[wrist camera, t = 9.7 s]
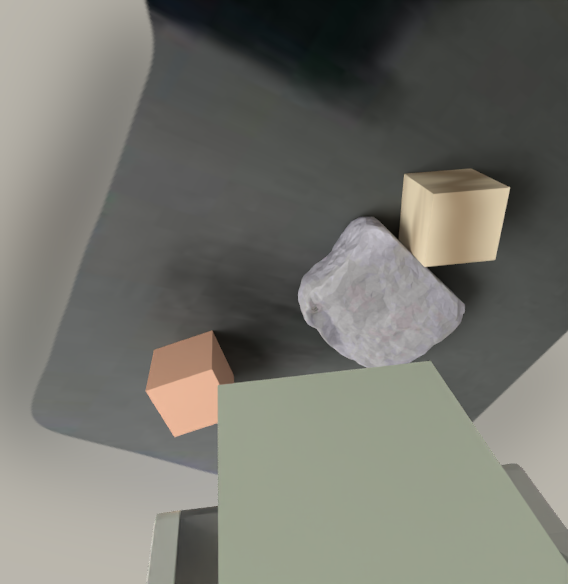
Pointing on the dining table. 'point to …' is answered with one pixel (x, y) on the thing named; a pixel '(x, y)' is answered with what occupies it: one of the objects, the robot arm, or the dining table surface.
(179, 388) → the terracotta cube
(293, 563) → the sage cube
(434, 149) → the dining table surface
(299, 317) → the dining table surface
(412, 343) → the stone block
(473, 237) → the birch cube
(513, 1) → the dining table surface
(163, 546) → the robot arm
